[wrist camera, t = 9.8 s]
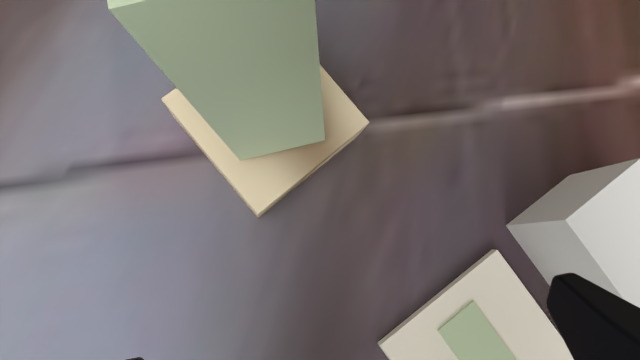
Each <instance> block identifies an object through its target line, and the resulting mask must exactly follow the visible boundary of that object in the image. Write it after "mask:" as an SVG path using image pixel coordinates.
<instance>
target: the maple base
mask: <svg viewBox="0 0 640 360" xmlns="http://www.w3.org/2000/svg"><path fill="white" fill-rule="evenodd" d="M320 77H321V91H322V105H323V118H324V132H325V140H324V141H320V142H316V143H312V144H308V145H303V146H299V147H295V148H291V149H287V150H282V151H278V152H274V153H270V154H266V155H261V156H257V157H253V158H249V159H245V160H241V161H240V160H239V159H238V158H237V157H236V155H235V154H234V153H233V152H232V151H231V150H230V149H229V147H228V146H227V145H226V144H225V143H224V142H223V141H222V139H221V138H220V137H219V136H218V135H217V134H216V132H215V131H214V130H213V129H212V128H211V127H210V126H209V124H208V123H207V122H206V121H205V120H204V119H203V117H202V116H201V115H200V114H199V113H198V112H197V111H196V109H195V108H194V107H193V106H192V105H191V104H190V102H189V101H188V100H187V99H186V98H185V97H184V96H183V94H182V93H181V92H180V91H179V90H178V89H177V88H175V89H174V90H173V91H171V92H170V93H168V94H167V95H166V96H164V97H163V98H161V100H162V101H163V102H164V104H165V105H166V107H167V108H168V110H169V111H170V113H171V114H172V115H173V117H174V118H175V119H176V120H177V121H178V123H179V124H180V125H181V126H182V127H183V129H184V130H185V131H186V132H187V133H188V135H189V136H190V137H191V138H192V139H193V141H194V142H195V143H196V144H197V145H198V147H199V148H200V149H201V150H202V151H203V153H204V154H205V155H206V156H207V157H208V159H209V160H210V161H211V162H212V163H213V165H214V166H215V167H216V168H217V169H218V171H219V172H220V173H221V174H222V175H223V177H224V178H225V179H226V180H227V181H228V183H229V184H230V185H231V186H232V187H233V189H234V190H235V191H236V192H237V193H238V195H239V196H240V197H241V198H242V199H243V201H244V202H245V203H246V204H247V205H248V207H249V208H250V209H251V210H252V211H253V213H254V214H255V215H256V216H257V217H258V218H259V217H260V216H262V215H263V214H264V213H265V212H266V211H268V210H269V209H270V208H271V207H272V206H274V205H275V204H276V203H277V202H279V201H280V200H281V199H282V198H283V197H285V196H286V195H287V194H288V193H289V192H291V191H292V190H293V189H294V188H296V187H297V186H298V185H299V184H300V183H302V182H303V181H304V180H305V179H306V178H308V177H309V176H310V175H311V174H313V173H314V172H315V171H316V170H317V169H319V168H320V167H321V166H322V165H323V164H325V163H326V162H327V161H328V160H329V159H331V158H332V157H333V156H334V155H336V154H337V153H338V152H339V151H340V150H342V149H343V148H344V147H345V146H346V145H348V144H349V143H350V142H351V141H353V140H354V139H355V138H356V137H357V136H359V134H360V133H361V132H362V131H363V130H364V128H365V127H366V126H367V125H368V124H369V121H368V120H367V119H366V118H365V117H364V115H363V114H362V113H361V112H360V111H359V110H358V108H357V107H356V106H355V105H354V104H353V103H352V101H351V100H350V99H349V98H348V97H347V96H346V94H345V93H344V92H343V91H342V90H341V89H340V87H339V86H338V85H337V84H336V83H335V82H334V80H333V79H332V78H331V77H330V76H329V74H328V73H327V72H326V71H325V70H324V69H323V67H322V66H321V65H320Z"/></svg>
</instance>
